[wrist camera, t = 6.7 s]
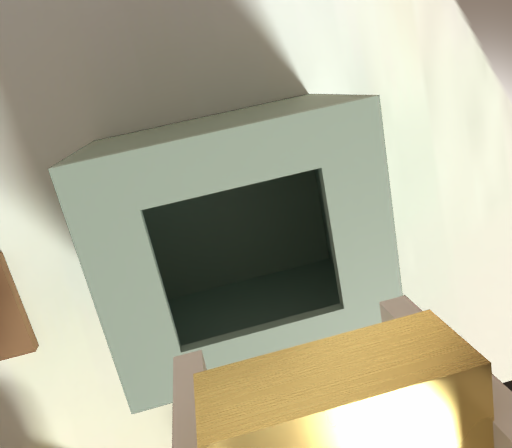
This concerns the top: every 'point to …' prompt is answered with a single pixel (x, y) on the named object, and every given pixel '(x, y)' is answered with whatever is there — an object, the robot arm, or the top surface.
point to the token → (353, 392)
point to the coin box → (233, 234)
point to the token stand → (13, 319)
